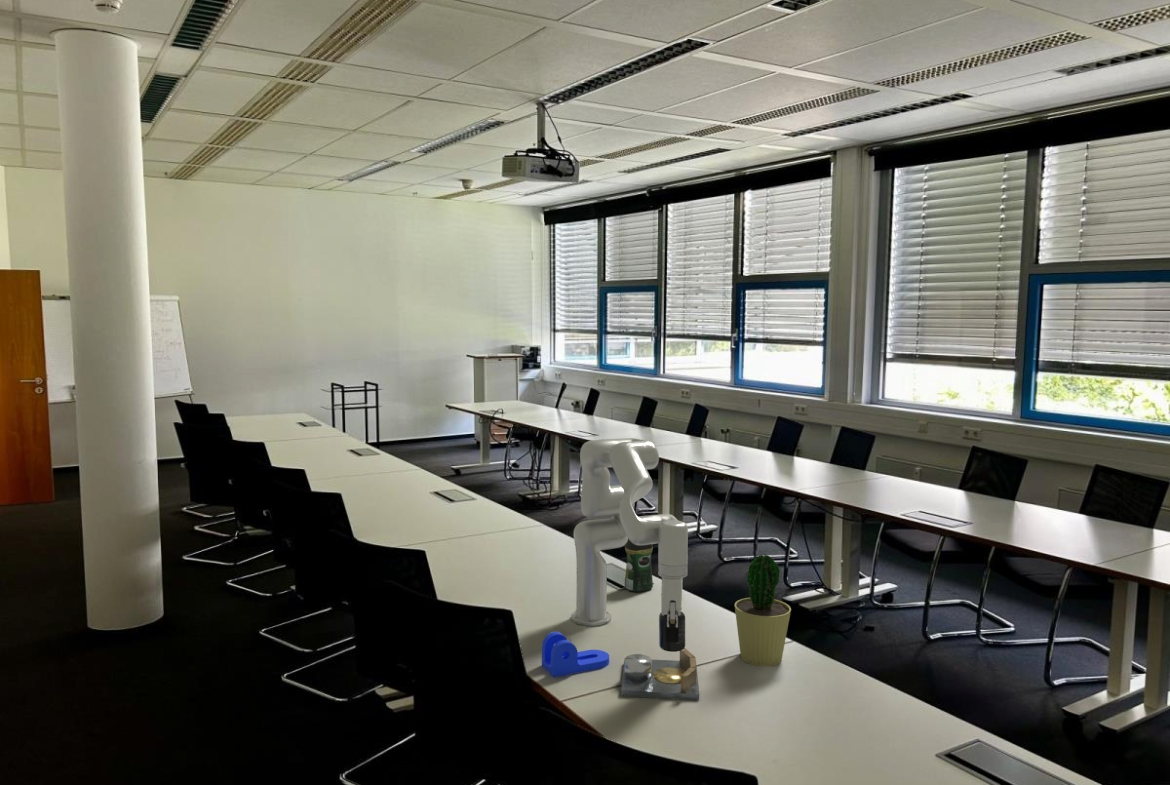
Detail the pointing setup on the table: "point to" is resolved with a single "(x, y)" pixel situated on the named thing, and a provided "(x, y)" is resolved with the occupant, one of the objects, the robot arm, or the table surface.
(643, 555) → the coffee jar
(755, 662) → the potted cactus
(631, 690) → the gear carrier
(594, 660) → the bracket
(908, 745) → the table surface
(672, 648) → the supplement bottle
